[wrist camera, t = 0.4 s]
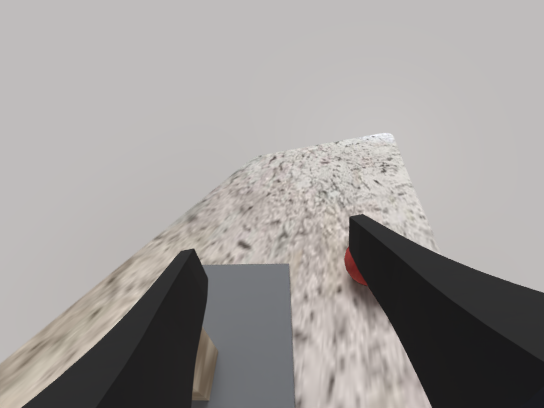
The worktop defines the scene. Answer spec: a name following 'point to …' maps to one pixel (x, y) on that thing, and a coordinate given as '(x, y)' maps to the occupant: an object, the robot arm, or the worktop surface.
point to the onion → (353, 268)
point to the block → (204, 368)
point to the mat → (250, 336)
